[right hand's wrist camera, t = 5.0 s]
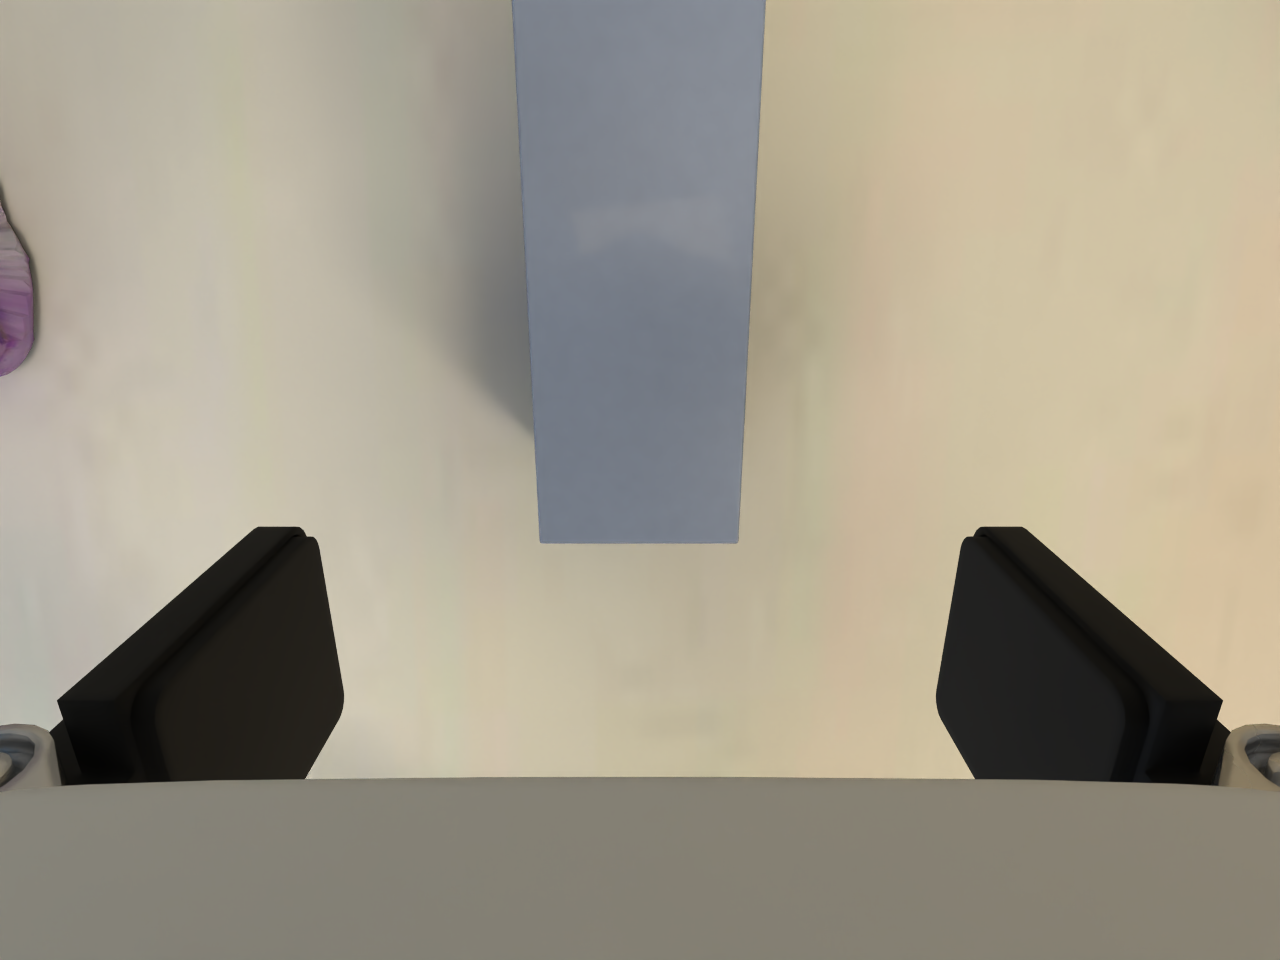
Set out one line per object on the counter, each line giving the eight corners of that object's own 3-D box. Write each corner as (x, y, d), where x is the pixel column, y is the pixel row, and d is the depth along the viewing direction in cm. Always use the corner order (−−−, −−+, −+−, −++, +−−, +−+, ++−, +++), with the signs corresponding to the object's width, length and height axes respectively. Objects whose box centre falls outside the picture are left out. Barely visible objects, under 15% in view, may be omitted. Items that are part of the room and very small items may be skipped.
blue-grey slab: (547, 43, 27) (510, -21, 19) (730, 43, 27) (767, -21, 19) (563, 462, 33) (539, 544, 25) (714, 462, 33) (738, 544, 25)
